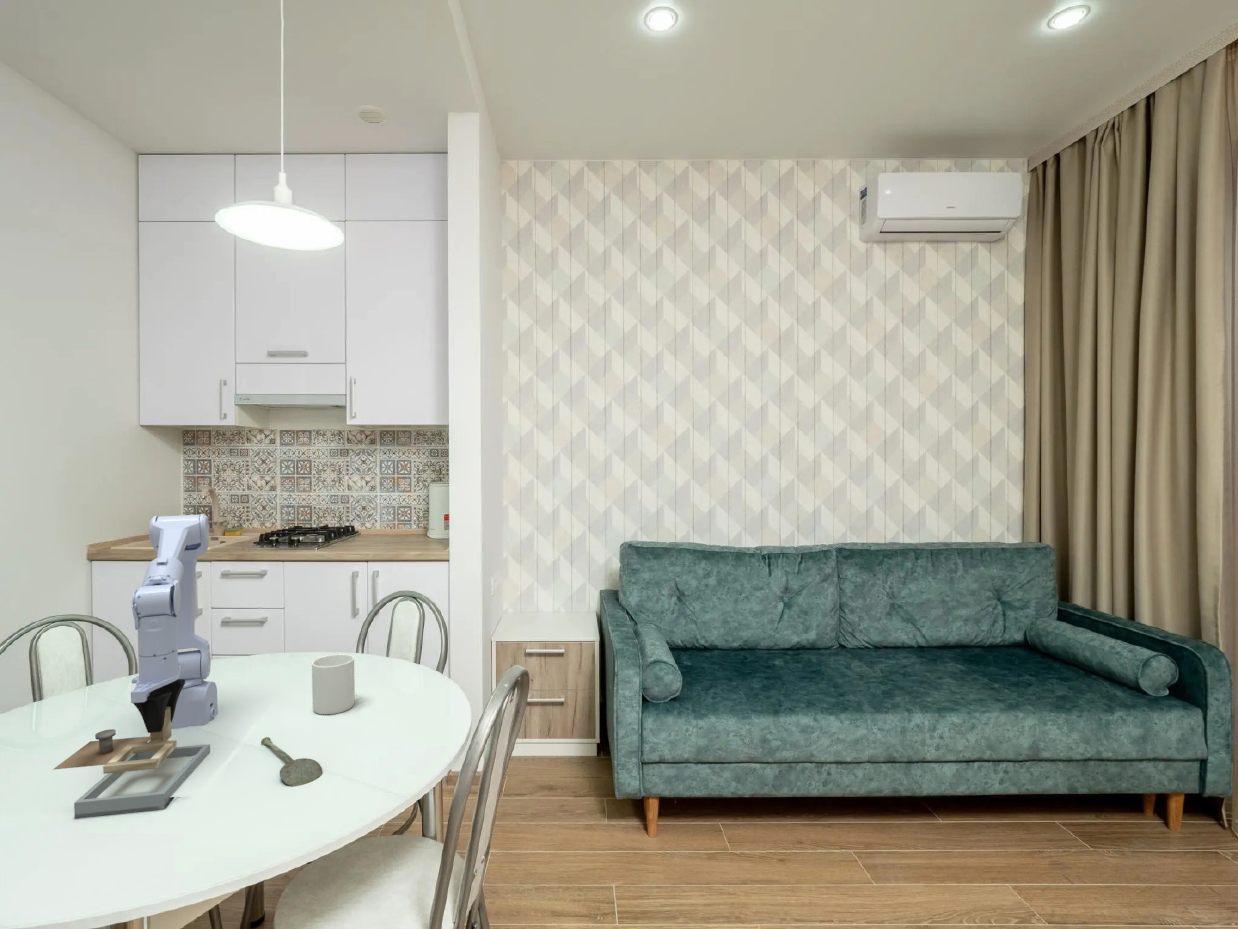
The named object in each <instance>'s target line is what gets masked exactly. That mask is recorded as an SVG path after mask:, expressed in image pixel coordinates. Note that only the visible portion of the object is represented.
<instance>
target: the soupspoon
mask: <svg viewBox="0 0 1238 929" xmlns="http://www.w3.org/2000/svg"><path fill="white" fill-rule="evenodd" d="M260 744H261V746H268V747H270V748H271V749H273V750H274V751H275V752H276V753H278V754H279V755H280V756H281V757H282V758H283V759H284V760H285V761H286V762H287V763H286V764H284V765H283V766H282V767H281V768H280V770H279V777H280V779H281V781H282V782H283V783H284V784H285V785H287V786H290V787H291V788H292V787H300V786H304V785H308V784H310V783H312V782H314V781H316V780H317V779H319V778H320V777H322V775H323V767H322V766H321V764H320V762H318V761H316V760H314V759H312V758H307V757H306V758H305V757H303V758H296V759H293V758H292V757H291V756H290V755H289V754H288V753H287V752H285V751H284V750H283V749H281V748H279V747H278V746H277V745H275V744H274V742H273V741H272V739H271V737H269V736H265V737H263V738H261V741H260Z"/></svg>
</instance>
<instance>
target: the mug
mask: <svg viewBox="0 0 1238 929" xmlns="http://www.w3.org/2000/svg"><path fill="white" fill-rule="evenodd" d="M311 682H312V683H311V685H312V686H311V688H312V696H311V697H312V710H313V711H314V713H316V714H318V715H323V714H324V715H325V714H326V715H327V714H330V715H337V714H340V713H344V712H346V711H349V710H350V709H351V708H353V707H354V705H355V700H356V699H355V692H356V690H355V688H356V687H355V656H354V655H351V654H347V653H338V654H337V653H335V654H334V653H333V654H328V655H324V656H320V657H317V658H315V659H314V660H313V661H312V662H311Z"/></svg>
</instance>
